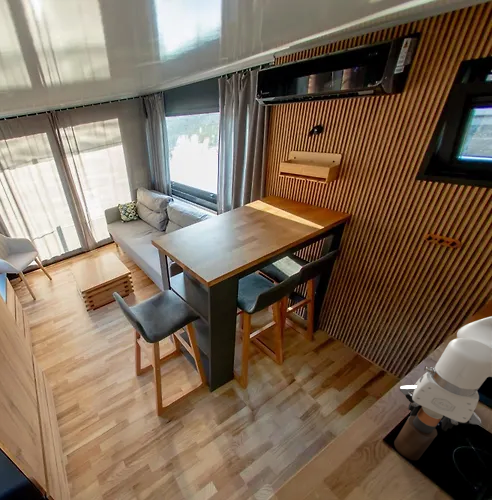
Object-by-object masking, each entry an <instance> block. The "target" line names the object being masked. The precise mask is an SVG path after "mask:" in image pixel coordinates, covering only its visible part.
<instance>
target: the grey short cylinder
mask: <svg viewBox="0 0 492 500" xmlns="http://www.w3.org/2000/svg"><path fill="white" fill-rule="evenodd" d="M415 416H416V417H415V419H414V420H413V424H414V426H415V427H416V428H417V429H418V430H420V431H421V432H424V433H427V434H430V433H432V431H433V430H434V429H436V427H437V426H438V424H437V425H436V426H429V425H427V424H425V423H423V422H422V421H421V420H420V419H419V418H418V416H417V414H415Z"/></svg>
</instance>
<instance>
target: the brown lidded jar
mask: <svg viewBox="0 0 492 500" xmlns="http://www.w3.org/2000/svg"><path fill="white" fill-rule="evenodd" d="M415 417H416V415H415V416H412V415H410V416H408V418H407V420H406V421H405V423H404V424H403V426H402V428H401V430H400V431H399V433H398V434H397V436H396V438H395V439H394V441H393V445H394V447H395V449H396V451H397V452H398V453H399V454H400V455H401V456H403V457H404V458H406V459H408V460H411V461H418V460H420V459H421V457H422V456H423V455H424V454H425V452H426V450H427V449H428V448H429V447H430V445H431V444H432V443H433V442H434V440H435V438H436V437H437V436H438V430H437V429H436V428H435V429H434V430H433V431H432V433H430V434H427V433H424V432H421V431H420V430H418V429H417V428H416V427H415V426H414V424H413V420H414V419H415Z"/></svg>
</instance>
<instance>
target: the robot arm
mask: <svg viewBox="0 0 492 500" xmlns="http://www.w3.org/2000/svg"><path fill="white" fill-rule="evenodd" d="M423 371H425V372H424V374H423V375H421V376H420V377H419V378H418V380H417V381H416V382H415V384H414V385H413V384H411V385H399V391H400V392H401V393H402V395H404V396H405V398H406V399H407V401H409V404H408V407H407V410H408V411H410V416H416V415H417V413H418V412H419V410H420V407H419V406H421V407H422V406H423V407H425V408H428V409H430V410H432V411H434V412H437V413H439V414H441V415H443V417H442V419H441V429H442V431H444V432H447V431H448V429H452V428H453V427H454V426H458V425H460V424H461V425H470V424H471V425H480V426H481V425H482V419H481V418H480V417H479V415H478V414H477V413H476V412H475V410H476V408H477V405H478V403H479V400H480V395H479V392H478V390H479V389H480V388H481V386H482V385H483V384H484V382H485V381H486V380H487V378H492V315H491V316H487V317H484V318H481V319H477V320H475V321H472V322H470V323H467V324H465V325H463V326H462V327H460V328H459V329H458V330H457V333H456V338H454V339H452V340H450V341H449V342H448V344H447V346H446V347H445V349H444V350H443V352H442V353H441V356H440V357H439V359H438V360H437V362H436V364H434V365H433V366H428V365H425V366H424V369H423Z"/></svg>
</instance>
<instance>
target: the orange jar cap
mask: <svg viewBox="0 0 492 500" xmlns="http://www.w3.org/2000/svg"><path fill="white" fill-rule="evenodd" d="M416 415H417V416H418V418H419V419H420V420H421V421H422V422H423V423H425V424H427V425H429V426H436V425H437V426H438V424H439V423H440V422H441V421H442V419H443V418H444V415H441V414H439V413H437V412H434V411H432V410H430V409H428V408H425V407H423V406H421V407H420V408H419V409H418V411H417V413H416ZM437 426H436V427H437Z"/></svg>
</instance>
